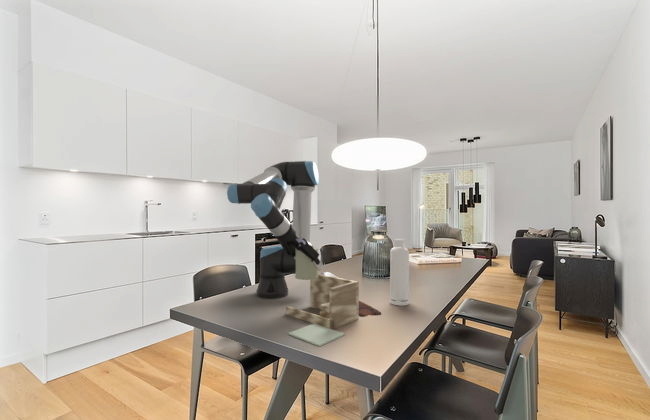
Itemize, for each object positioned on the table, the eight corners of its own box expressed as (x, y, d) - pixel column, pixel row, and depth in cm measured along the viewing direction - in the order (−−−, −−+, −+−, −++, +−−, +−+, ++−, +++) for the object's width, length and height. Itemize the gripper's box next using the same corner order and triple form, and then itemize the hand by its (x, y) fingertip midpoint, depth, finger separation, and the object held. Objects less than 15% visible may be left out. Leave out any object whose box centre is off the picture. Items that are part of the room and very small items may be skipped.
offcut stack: (317, 321, 119) (317, 305, 119) (335, 315, 126) (335, 299, 126) (332, 326, 114) (332, 309, 114) (350, 319, 122) (350, 303, 122)
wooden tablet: (334, 297, 149) (354, 292, 153) (334, 302, 149) (354, 297, 153) (359, 315, 124) (382, 309, 128) (360, 321, 124) (383, 315, 128)
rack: (286, 314, 128) (286, 278, 127) (312, 305, 139) (312, 272, 139) (332, 329, 112) (332, 288, 111) (358, 318, 123) (358, 281, 123)
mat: (288, 334, 107) (288, 332, 107) (313, 324, 116) (313, 323, 116) (319, 346, 98) (319, 344, 98) (344, 335, 107) (344, 333, 107)
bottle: (408, 306, 138) (408, 240, 138) (388, 304, 141) (389, 239, 141) (409, 301, 146) (409, 238, 146) (391, 299, 149) (391, 238, 149)
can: (322, 276, 132) (322, 246, 131) (310, 280, 124) (310, 249, 123) (303, 273, 136) (303, 245, 136) (290, 278, 128) (290, 247, 128)
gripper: (258, 235, 126) (289, 270, 138) (297, 239, 111) (328, 278, 123) (269, 221, 129) (298, 256, 142) (308, 223, 115) (337, 262, 127)
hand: (312, 266), depth 132 cm, fingers closed on can, 9 cm apart
